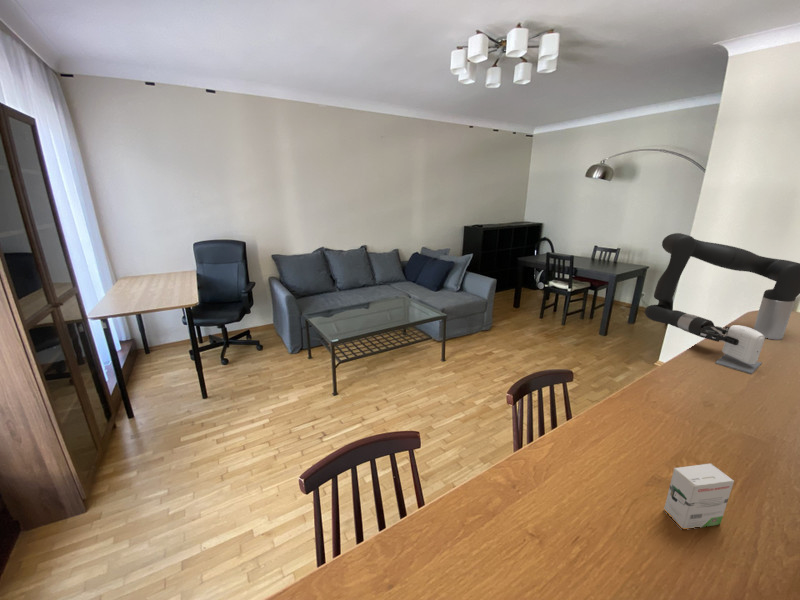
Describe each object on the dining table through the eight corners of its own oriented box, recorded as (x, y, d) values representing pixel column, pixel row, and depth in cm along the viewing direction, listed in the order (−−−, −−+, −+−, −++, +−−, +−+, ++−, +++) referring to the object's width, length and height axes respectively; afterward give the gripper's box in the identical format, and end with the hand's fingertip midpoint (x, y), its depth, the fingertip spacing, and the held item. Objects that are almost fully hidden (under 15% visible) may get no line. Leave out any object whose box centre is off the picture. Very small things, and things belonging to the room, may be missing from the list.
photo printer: (759, 363, 121) (769, 332, 117) (749, 365, 120) (759, 333, 116) (728, 351, 130) (737, 321, 127) (719, 352, 130) (727, 323, 126)
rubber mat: (725, 354, 133) (726, 353, 133) (761, 364, 125) (761, 362, 125) (714, 363, 127) (715, 362, 127) (751, 374, 119) (751, 372, 119)
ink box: (698, 504, 72) (711, 461, 69) (722, 526, 68) (736, 480, 64) (661, 509, 72) (672, 465, 68) (682, 531, 67) (695, 486, 63)
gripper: (683, 318, 137) (730, 335, 121) (710, 314, 140) (760, 330, 124) (679, 335, 139) (725, 353, 123) (706, 331, 142) (754, 348, 126)
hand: (742, 341), depth 124 cm, fingers closed on photo printer, 4 cm apart
